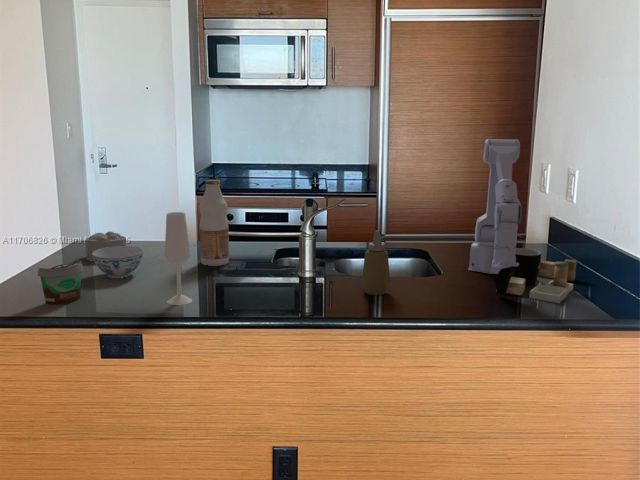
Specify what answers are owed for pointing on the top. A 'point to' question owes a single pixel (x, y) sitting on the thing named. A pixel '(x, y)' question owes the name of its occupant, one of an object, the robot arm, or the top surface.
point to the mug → (527, 265)
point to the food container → (62, 283)
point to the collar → (568, 286)
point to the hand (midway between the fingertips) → (501, 293)
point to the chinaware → (118, 260)
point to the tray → (548, 293)
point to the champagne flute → (177, 250)
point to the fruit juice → (213, 226)
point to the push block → (516, 286)
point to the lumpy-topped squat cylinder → (103, 242)
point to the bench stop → (549, 267)
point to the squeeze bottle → (376, 268)
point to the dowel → (560, 274)
